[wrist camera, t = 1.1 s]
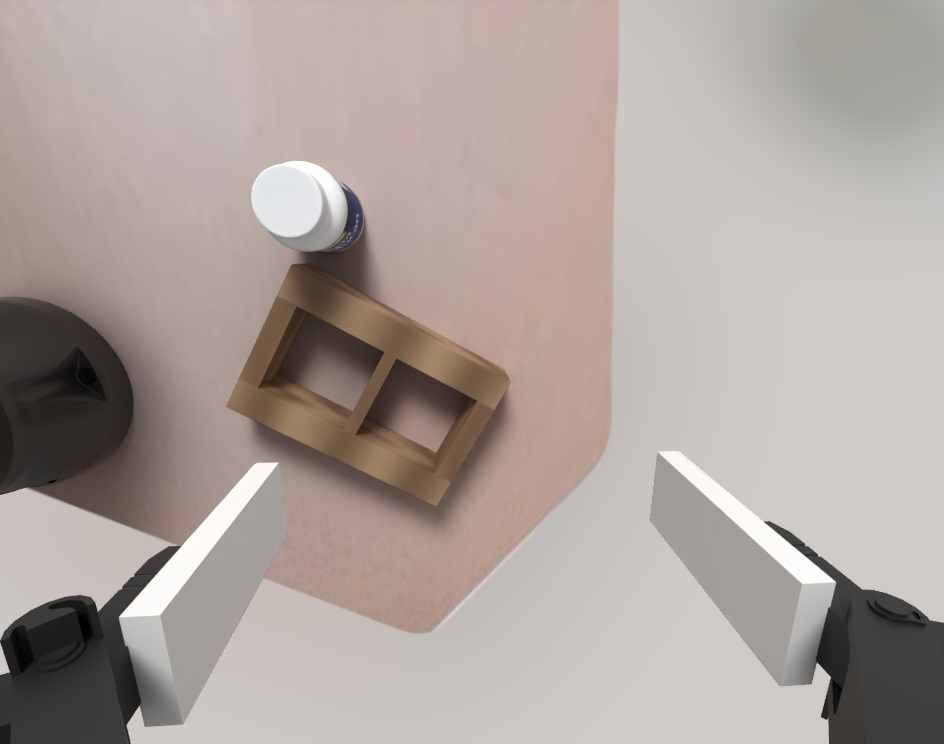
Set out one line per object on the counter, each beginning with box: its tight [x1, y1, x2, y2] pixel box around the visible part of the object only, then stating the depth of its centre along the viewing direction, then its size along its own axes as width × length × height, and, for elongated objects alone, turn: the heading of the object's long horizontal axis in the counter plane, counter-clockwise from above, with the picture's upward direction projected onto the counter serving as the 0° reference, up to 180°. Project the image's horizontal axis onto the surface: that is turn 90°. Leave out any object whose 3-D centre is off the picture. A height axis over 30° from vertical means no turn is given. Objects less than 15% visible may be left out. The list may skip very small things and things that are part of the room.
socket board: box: [226, 264, 511, 506], centre depth 36 cm, size 18×12×4 cm, turn 61°
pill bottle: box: [251, 161, 364, 253], centre depth 30 cm, size 5×5×10 cm
